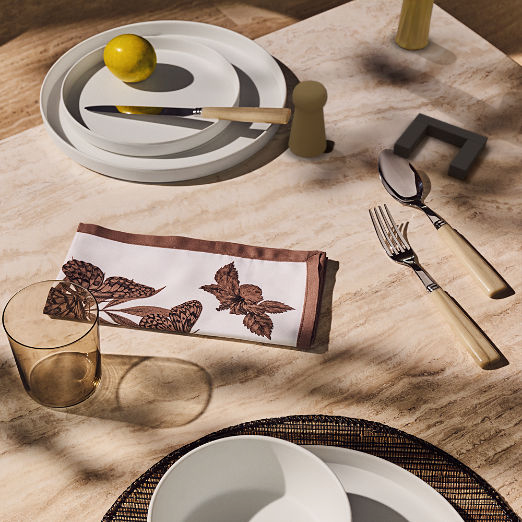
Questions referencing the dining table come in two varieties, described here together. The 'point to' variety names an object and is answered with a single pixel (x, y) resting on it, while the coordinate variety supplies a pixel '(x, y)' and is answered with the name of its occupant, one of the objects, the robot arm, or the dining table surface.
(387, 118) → the dining table surface
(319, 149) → the olive pawn
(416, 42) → the vase
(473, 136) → the dark gray u-shaped block
